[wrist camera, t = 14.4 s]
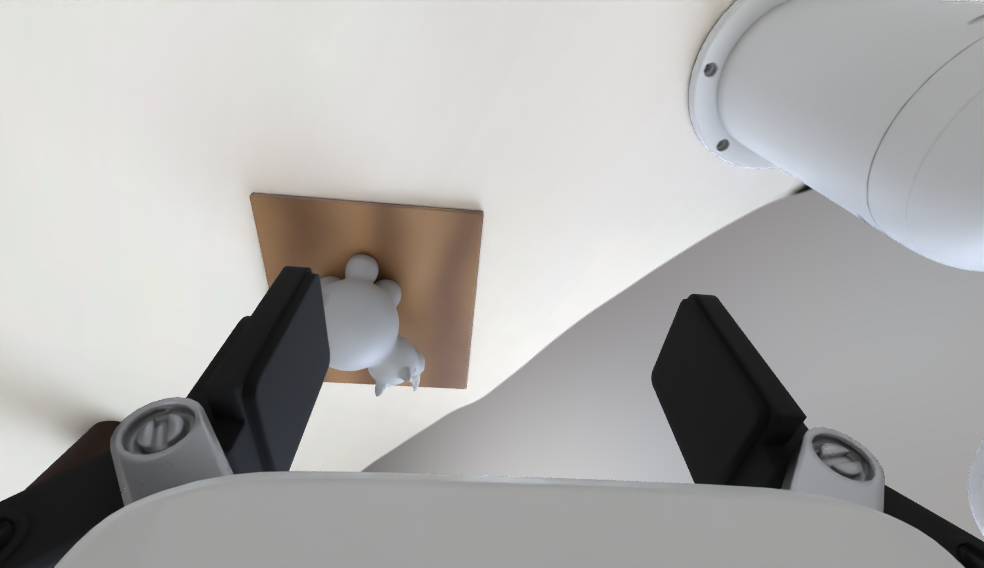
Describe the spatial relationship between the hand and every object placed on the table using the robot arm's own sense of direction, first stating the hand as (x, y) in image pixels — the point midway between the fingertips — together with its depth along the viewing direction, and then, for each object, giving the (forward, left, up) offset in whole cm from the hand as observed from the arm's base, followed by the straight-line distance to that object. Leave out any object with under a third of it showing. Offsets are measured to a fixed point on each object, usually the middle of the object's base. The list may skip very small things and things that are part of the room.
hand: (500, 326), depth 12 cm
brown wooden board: (+9, +18, -24) cm, 31 cm away
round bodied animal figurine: (+8, +18, -24) cm, 31 cm away
